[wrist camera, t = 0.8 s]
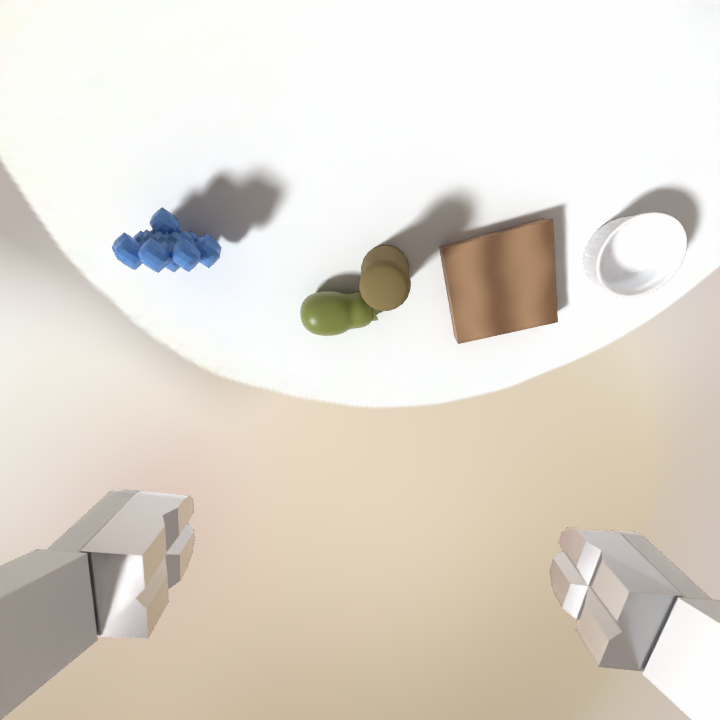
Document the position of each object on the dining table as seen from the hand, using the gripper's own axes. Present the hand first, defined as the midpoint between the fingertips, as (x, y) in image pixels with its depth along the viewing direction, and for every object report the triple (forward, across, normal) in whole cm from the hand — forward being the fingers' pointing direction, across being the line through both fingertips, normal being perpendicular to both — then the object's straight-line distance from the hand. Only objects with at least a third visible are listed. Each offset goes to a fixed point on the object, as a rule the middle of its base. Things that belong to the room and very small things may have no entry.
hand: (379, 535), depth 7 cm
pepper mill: (+38, -3, -6) cm, 39 cm away
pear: (+40, +2, 0) cm, 40 cm away
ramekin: (+36, -30, -11) cm, 48 cm away
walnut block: (+37, -17, -6) cm, 41 cm away
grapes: (+40, +21, -7) cm, 46 cm away
